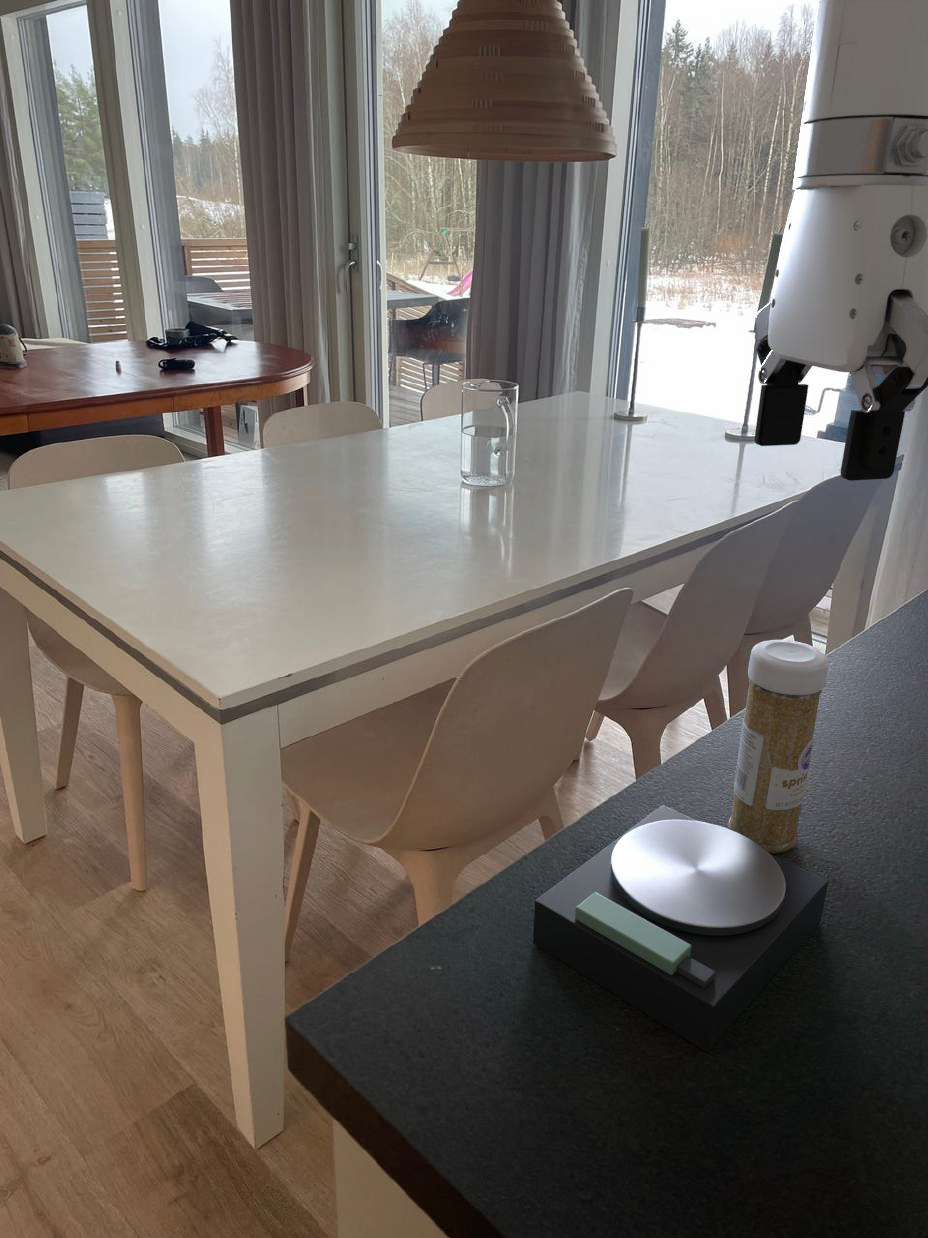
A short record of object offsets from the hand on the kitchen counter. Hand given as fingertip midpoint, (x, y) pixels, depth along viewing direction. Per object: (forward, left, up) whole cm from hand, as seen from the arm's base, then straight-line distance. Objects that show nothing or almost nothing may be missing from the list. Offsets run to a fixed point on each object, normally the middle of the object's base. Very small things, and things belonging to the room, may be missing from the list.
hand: (818, 460), depth 59 cm
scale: (+19, +4, -24) cm, 31 cm away
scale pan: (+17, +4, -21) cm, 27 cm away
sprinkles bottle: (+7, +3, -24) cm, 25 cm away
